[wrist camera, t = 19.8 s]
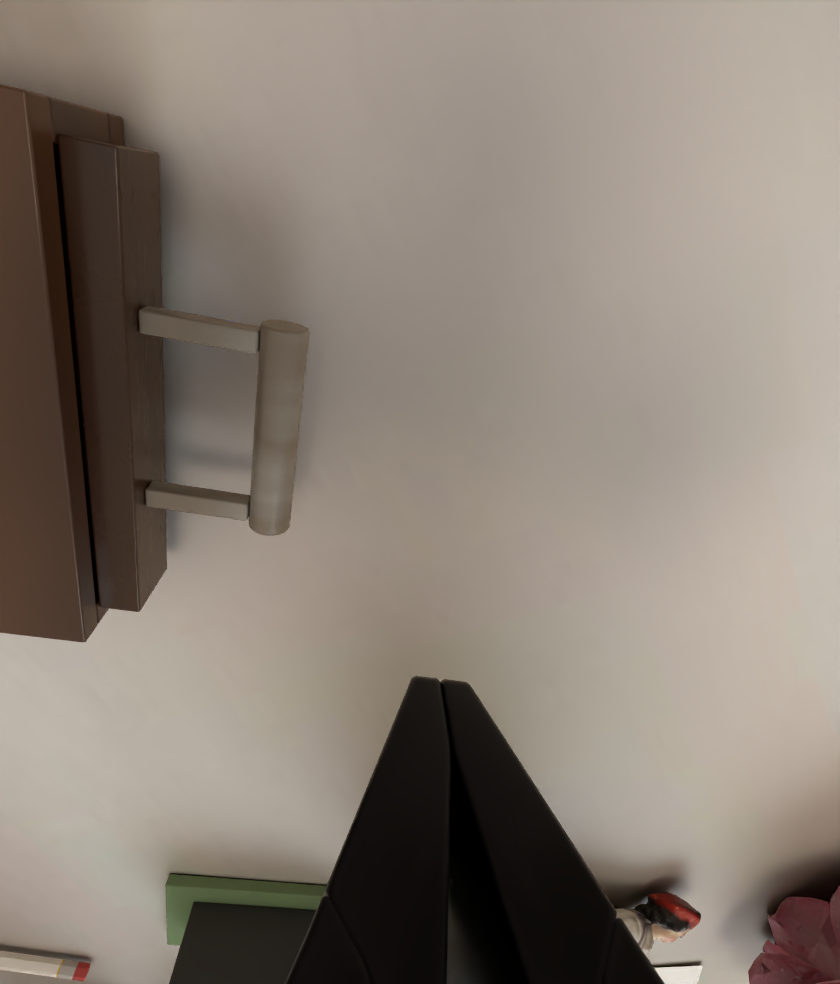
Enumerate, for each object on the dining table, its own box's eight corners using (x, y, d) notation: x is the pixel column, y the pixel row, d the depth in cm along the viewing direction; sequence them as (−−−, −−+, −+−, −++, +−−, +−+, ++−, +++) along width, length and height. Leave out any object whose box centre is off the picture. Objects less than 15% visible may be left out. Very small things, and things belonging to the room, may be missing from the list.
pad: (342, 886, 30) (341, 898, 30) (329, 942, 33) (328, 955, 32) (169, 873, 29) (165, 885, 29) (170, 932, 32) (166, 945, 31)
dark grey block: (346, 911, 30) (338, 1003, 27) (338, 944, 32) (330, 1035, 28) (193, 900, 29) (165, 994, 26) (193, 935, 31) (167, 1027, 27)
